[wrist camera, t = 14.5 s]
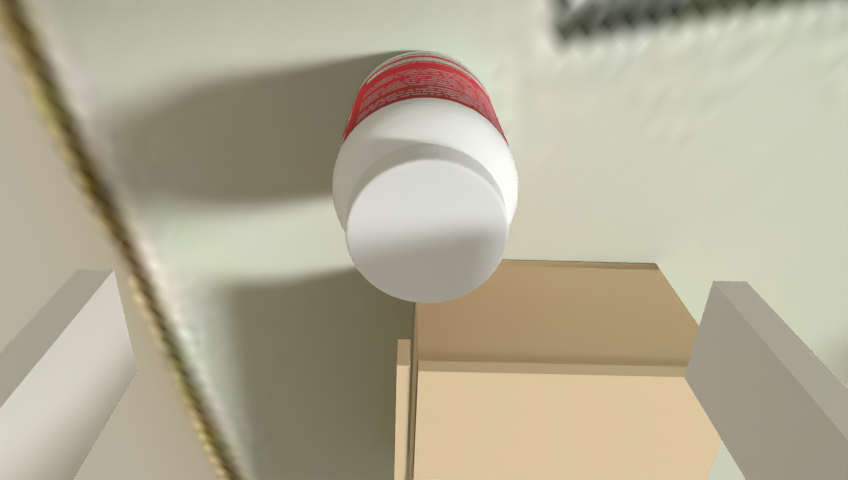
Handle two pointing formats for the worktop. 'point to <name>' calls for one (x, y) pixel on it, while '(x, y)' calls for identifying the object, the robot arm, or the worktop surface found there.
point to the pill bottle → (424, 179)
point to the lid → (551, 422)
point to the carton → (557, 320)
